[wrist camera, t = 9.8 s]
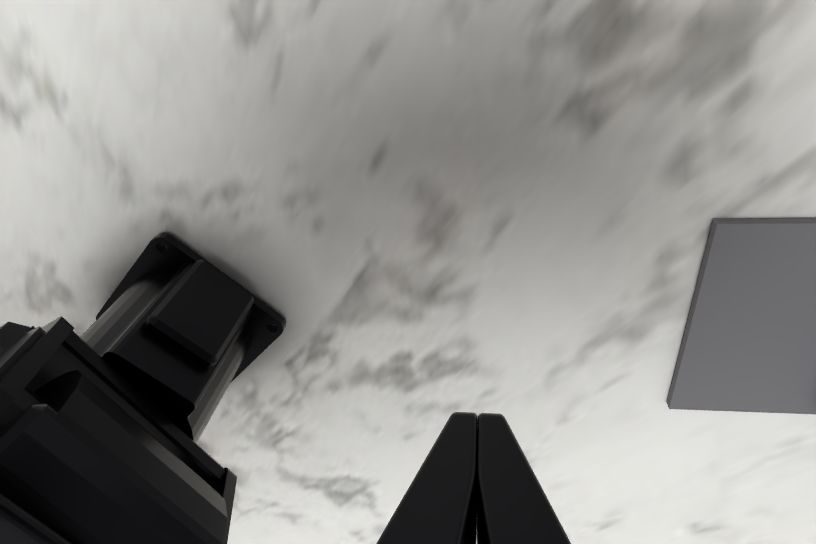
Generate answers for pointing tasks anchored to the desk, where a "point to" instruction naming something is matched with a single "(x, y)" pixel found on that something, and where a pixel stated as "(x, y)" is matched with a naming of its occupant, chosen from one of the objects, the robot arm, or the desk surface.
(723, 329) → the mat
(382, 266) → the desk surface
